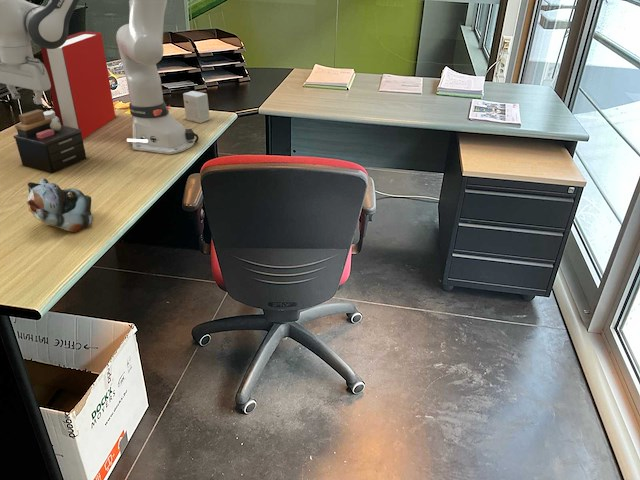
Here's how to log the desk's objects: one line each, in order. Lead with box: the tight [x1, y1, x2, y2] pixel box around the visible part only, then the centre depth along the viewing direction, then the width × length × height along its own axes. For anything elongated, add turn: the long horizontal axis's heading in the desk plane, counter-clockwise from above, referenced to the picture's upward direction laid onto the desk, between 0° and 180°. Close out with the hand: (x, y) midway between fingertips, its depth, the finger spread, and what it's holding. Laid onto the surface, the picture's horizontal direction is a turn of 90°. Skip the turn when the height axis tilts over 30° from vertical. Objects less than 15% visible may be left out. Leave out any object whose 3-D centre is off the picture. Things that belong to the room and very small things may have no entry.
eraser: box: [36, 129, 54, 139], centre depth 167 cm, size 5×2×1 cm, turn 154°
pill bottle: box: [43, 110, 61, 124], centre depth 190 cm, size 5×5×10 cm
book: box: [40, 30, 116, 139], centre depth 197 cm, size 27×8×32 cm, turn 172°
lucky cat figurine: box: [26, 178, 94, 233], centre depth 137 cm, size 15×12×14 cm
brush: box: [14, 108, 52, 137], centre depth 169 cm, size 4×10×6 cm, turn 154°
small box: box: [182, 90, 211, 124], centre depth 213 cm, size 8×6×10 cm
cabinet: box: [13, 125, 87, 175], centre depth 173 cm, size 14×14×10 cm
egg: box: [50, 121, 61, 131], centre depth 171 cm, size 3×3×3 cm
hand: (27, 101), depth 166 cm, fingers open, 8 cm apart
